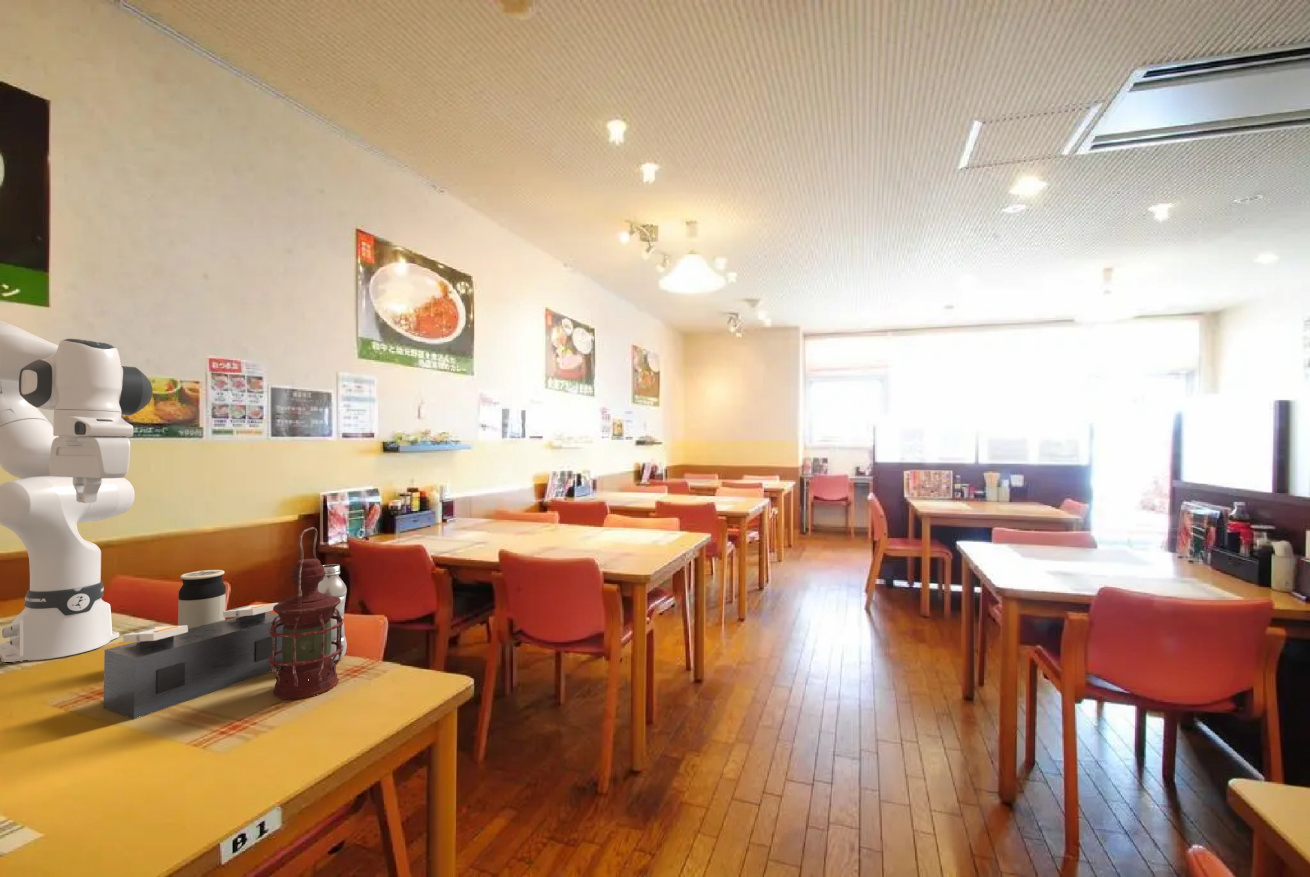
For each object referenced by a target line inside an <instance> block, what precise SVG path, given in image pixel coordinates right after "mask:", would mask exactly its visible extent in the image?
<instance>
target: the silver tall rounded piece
mask: <svg viewBox="0 0 1310 877" xmlns="http://www.w3.org/2000/svg"><path fill="white" fill-rule="evenodd" d="M323 566H324V571H325V572H326V574H325V576H324V579H323V580H322V581H320V582H319V584H318V591H319V592H321V593H324V594H327V595H330V596H334V597H338V598H340V599H341V601H340V603H339V604H338V605H337V606H336V607H335V608H336V609H338V610H339V612H340V616H341V617H342V618H343V620H344V619H345V618H344V617H345V616H344V615H345V605H346V604H345V603H346V597H347V593H348V592H347V590H348V589H347V585H346V584H345V583H344V581H343V580H342V578H341V576H339V575H340V574H341V565H340V564H336V563H334V564H333V563H332V564H324V565H323ZM335 612H336V611H335ZM336 613H337V612H336ZM333 616H337V614H335V613H334V614H333ZM330 620H331V627H332V626H335V625H336V624H337V620H336V619H332V618H330ZM345 634H346V632H345V620H344V622H343V625H342V634H341V644H342V645H343V646H344V648H343V651H342V655H341V659H342V658H344V656H345V654H346V653H347V648H348V644H347V637H346V635H345ZM336 640H337V628H335V629H333V630H331V641H336ZM335 652H336V645H335V644H331V652H330V654H333V653H335ZM333 657H334V656H333ZM333 657H331V658H332V659H333ZM338 659H339V655H338V654H337V656H336V658H335V659H334V662H335V661H338Z"/></svg>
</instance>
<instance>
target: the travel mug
mask: <svg viewBox="0 0 1310 877" xmlns="http://www.w3.org/2000/svg"><path fill="white" fill-rule="evenodd" d="M224 574H226V573H225V570H222V569H208V570H206V569H205V570H198V571H192V572H187V573H183V574H181V575H180V576H179V578H180V579H181V581H182V586H181V587H180V589H179V590H178V602H177V603H178V604H177V605H178V607H177V608H178V611H177V612H178V614H177V615H178V616H177V617H178V618H177V626H184V625H188V629H190V628H194V627H198V626H202V625H206V624H210V623H214V622H218V621H222V620H226V618H223V612H225V611H226V597H227V596H226V592H227V591H226V589H227V588H226V584H225V582H224V581H223V578H224V577H223V576H224Z"/></svg>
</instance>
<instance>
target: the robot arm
mask: <svg viewBox="0 0 1310 877" xmlns="http://www.w3.org/2000/svg"><path fill="white" fill-rule="evenodd" d="M121 363H122V362H121V358H120V353H119V350H118V348H116V347H115V346H113V345H112V344H110V343H105V342H100V341H93V340H88V339H81V338H80V339H78V338H65V339H62V340H60V341H59V342H58V344H56V343H53V342H51V341H49V340H47V339H45V338H42V337H40V336H37V335H35V334H33V333H32V332H29V331H28V330H25V329H23V328H21V327H19V326H17V325H14V324H12V323H8V322H6V321H3V320H0V467H1V469H2V470H4V472H7V473H8V474H9V475H11V476H13V477H15V478H18V479H14V480H11V481H6V482H4V483H1V484H0V525H1V526H3V527H5V528H7V529H9V530H11V531H12V532H13V533H14V534H15V535H16V536H17V537H18V538H19V539H20V541H21V542H22V543H23V545H24V546H25V549H26V553H27V556H28V560H29V563H28V564H29V589H28V590H27V591H26V594H25V596H24V600H25V601H24V603H23V604H24V605H23V606H24V609H23V610H22V611H21V612H19V614H18V615H17V616H16V618H14V619H13V620H12V621H11V624H10V626H6V627H3V628H2V629H1V630H2V631H1V635H2V636H1V637H2V639H7V638H9V641H5V642H2V643H0V658H1V660H3V661H4V662H13V661H20V662H24V661H23V660H28V661H40V660H49V659H55V658H62V657H63V658H64V657H67V656H74V655H77V654H81V653H85V652H88V651H92V650H95V649H98V648H101V647H104V646H105V645H107V644H108V643H110V641H112V640H115V639H117V638H119V637H120V632H119V631H113V628H112V626H113V625H112V624H113V623H112V612H111V611H112V610H111V604H110V603H109V602H107V601H104V600H103V599H102V598H103V597H104V590H105V589H104V588H105V587H104V582H103V581H102V580H101V577H102V551H101V548H100V547H99V546H98V545H97V544H96V543H93V542H92V541H89V540H86V539H84V538H83V537H82V536H81V535H80V532H79V530H78V526H77V525H78V523H87V522H96V521H104V520H107V519H110V518H113V517H117V516H120V515H122V514H125V513H126V512H128V511H129V510H130V509H131V508H132V506H133V504H134V502H135V499H136V498H135V497H136V494H135V493H136V492H135V488H134V486H133V484H132V483H131V482H130V480H128V479H127V478H125V477H126V476H127V474H128V472H129V470H130V460H131V441H130V439H129V438H132V437H133V436H134V426H133V425H132V424H130V423H129V422H128V421H125V419H124V418H122V416H133V415H134V414H137V413H138V412H140V411H141V410H143V409H144V408H145V407H147V405H149V403H150V402H151V400H152V397H153V385H152V383H151V381H150V379H149V378H148V377H147V375H145V373H144V372H142V371H141V370H140V369H139V368H138V367H135V366H126V365H125V366H123V365H122V364H121ZM40 409H43V410H48V411H53V424H52V423H51V422H50V421H49V419H48V418H47V417H46V416H45V415H44V414H43V412H41V410H40ZM1 660H0V661H1ZM13 663H14V662H13Z"/></svg>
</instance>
